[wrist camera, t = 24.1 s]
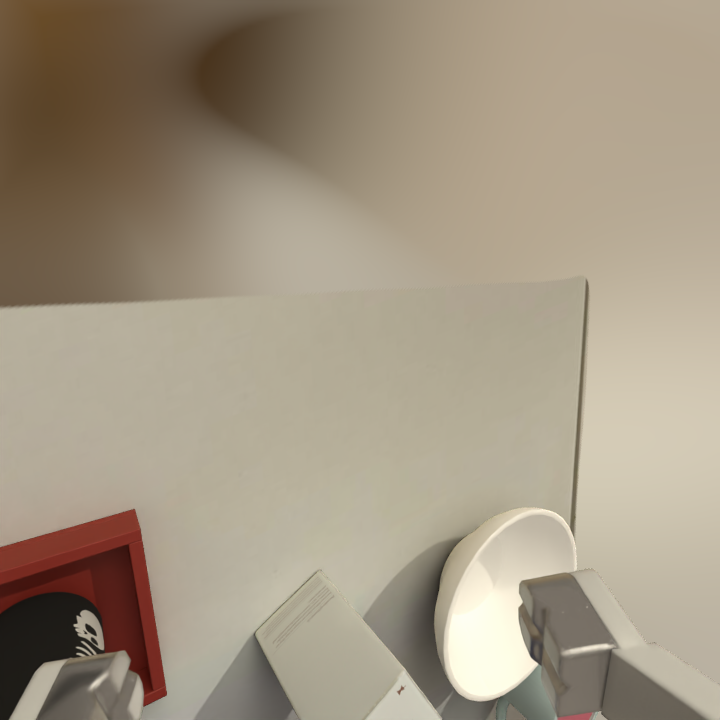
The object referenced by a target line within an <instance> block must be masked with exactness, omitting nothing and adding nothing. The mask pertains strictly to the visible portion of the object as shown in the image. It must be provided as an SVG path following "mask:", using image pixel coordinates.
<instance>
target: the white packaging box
mask: <svg viewBox="0 0 720 720" xmlns="http://www.w3.org/2000/svg"><path fill="white" fill-rule="evenodd" d="M255 636H256V638H257V640H258V642H259V644H260V646H261V648H262V650H263V652H264V654H265V656H266V658H267V660H268V662H269V663H270V665H271V667H272V669H273V671H274V673H275V675H276V677H277V679H278V681H279V683H280V684H281V686H282V688H283V690H284V692H285V694H286V696H287V698H288V699H289V701H290V703H291V705H292V707H293V709H294V711H295V713H296V715H297V716H298V718H299V720H443V719H442V718H441V716H440V715H439V714H438V712H437V711H436V710H435V708H434V707H433V706H432V704H431V703H430V702H429V700H428V699H427V698H426V696H425V695H424V693H423V692H422V691H421V690H420V688H419V687H418V686H417V684H416V683H415V682H414V680H413V679H412V678H411V676H410V675H409V674H408V672H407V671H406V669H405V668H404V667H403V666H402V665H401V663H400V662H399V661H398V660H397V659H396V658H395V656H394V655H393V654H392V653H391V652H390V651H389V649H388V648H387V647H386V646H385V645H384V643H383V642H382V641H381V640H380V639H379V638H378V637H377V635H376V634H375V633H374V632H373V631H372V630H371V628H370V627H369V626H368V625H367V624H366V622H365V621H364V620H363V619H362V618H361V617H360V615H359V614H358V613H357V612H356V611H355V610H354V608H353V607H352V606H351V605H350V604H349V603H348V601H347V600H346V599H345V598H344V597H343V595H342V594H341V593H340V592H339V591H338V590H337V588H336V587H335V586H334V585H333V584H332V583H331V581H330V580H329V579H328V578H327V577H326V576H325V574H324V573H323V572H322V571H321V570H319V571H318V572H317V573H316V574H315V575H314V576H313V577H312V578H310V579H309V580H308V581H307V582H306V583H305V584H304V585H303V586H302V587H301V588H300V589H299V590H298V591H297V592H296V593H295V594H294V595H293V596H292V597H291V598H290V599H289V600H288V601H286V602H285V603H284V604H283V605H282V606H281V607H280V608H279V609H278V610H277V611H276V612H275V613H274V614H273V615H272V616H271V617H270V618H269V619H268V620H267V621H266V622H265V623H264V624H263V625H262V626H261V627H260V628H259V629H258V630H257V631H256V633H255Z"/></svg>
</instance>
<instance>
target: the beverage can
mask: <svg viewBox="0 0 720 720" xmlns="http://www.w3.org/2000/svg"><path fill="white" fill-rule="evenodd" d="M103 653H105V646H104V635H103V624H102V618H101V615H100V613H99V611H98V609H97V608H96V607H95V605H94V604H93V603H92V602H90V601H89V600H88V599H86V598H84V597H82V596H80V595H77V594H73V593H68V592H49V593H43V594H39V595H35V596H32V597H29V598H26V599H24V600H22V601H20V602H18V603H16V604H14V605H12V606H11V607H9V608H8V609H6V610H5V611H3V612H2V613H1V614H0V720H9V719H10V717H11V715H12V713H13V711H14V709H15V708H16V706H17V704H18V702H19V700H20V698H21V697H22V695H23V693H24V691H25V689H26V687H27V686H28V684H29V682H30V680H31V678H32V676H33V674H34V673H35V671H36V670H37V669H38V668H39V667H40V666H41V665H42V664H43V663H46V662H52V661H58V660H63V659H69V658H77V657H84V656H90V655H97V654H103Z"/></svg>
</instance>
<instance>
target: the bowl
mask: <svg viewBox="0 0 720 720" xmlns="http://www.w3.org/2000/svg"><path fill="white" fill-rule="evenodd" d="M576 568H577V557H576V547H575V542H574V537H573V535H572V532H571V530H570V528H569V526H568V525H567V523H566V522H565V521H564V519H563V518H562V517H560V516H559V515H558V514H556V513H555V512H552V511H549V510H545V509H541V508H516V509H513V510H510V511H507V512H504V513H501V514H498V515H496V516H494V517H492V518H491V519H489V520H487V521H486V522H484V523H483V524H482V525H481V526H479V527H478V528H477V529H476V530H475V531H474V532H472V533H471V534H469V535H467V536H466V537H465V538H463V539H462V540H461V541H460V542H459V543H458V544H457V545H456V547H455V548H454V549H453V551H452V552H451V554H450V555H449V557H448V559H447V561H446V563H445V565H444V568H443V571H442V574H441V579H440V587H439V593H438V598H437V603H436V607H435V619H434V629H435V637H436V645H437V653H438V656H439V659H440V661H441V664H442V667H443V669H444V672H445V674H446V677H447V678H448V680H449V681H450V683H451V684H452V686H453V687H454V688H455V690H456V691H457V693H459V694H460V695H462V696H463V697H465V698H466V699H468V700H473V701H478V702H480V701H488V700H493V699H495V698H498V697H500V696H503V695H505V694H506V693H508V692H509V691H511V690H512V689H514V688H515V687H517V686H518V685H519V684H520V683H521V682H522V681H523V680H525V679H526V678H527V677H528V676H529V675H530V674H531V673H532V671H533V670H534V669H535V668H536V667H537V666H538V665H539V664H538V663H537V662H535V661H534V660H533V659H532V658H531V657H530V655H529V653H528V650H527V648H526V646H525V643H524V640H523V637H522V634H521V630H520V625H519V620H518V608H519V606H520V605H521V604H522V603H523V601H522V599H521V597H520V595H519V584H520V582H521V581H522V580H527V579H533V578H538V577H543V576H548V575H554V574H559V573H564V572H566V573H569V572H574V571H576Z"/></svg>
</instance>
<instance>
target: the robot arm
mask: <svg viewBox="0 0 720 720" xmlns="http://www.w3.org/2000/svg"><path fill="white" fill-rule="evenodd" d="M519 595H520V597H521V599H522V601H523V603H522V604H521V605H520V606H519V608H518V620H519V625H520V630H521V634H522V637H523V640H524V643H525V646H526V648H527V650H528V653H529V655H530V657H531V658H532V659H533V660H534V661H535V662H537V663H538V664H539V665H540V666H542V668H541V682H542V685H543V687H544V689H545V691H546V694H547V696H548V698H549V700H550V703H551V705H552V707H553V709H554V711H555V714H556V716H557V718H559V717H565V716H572V715H578V714H585V713H592V712H598V711H602V712H601V714H602V715H603V716H604V717H605V718H606V719H608V720H720V684H719V683H717V682H715V681H714V680H712V679H711V678H709V677H708V676H706V675H705V674H703V673H702V672H700V671H698V670H697V669H695V668H694V667H692V666H691V665H689V664H688V663H686V662H685V661H683V660H681V659H680V658H678V657H677V656H675V655H674V654H672V653H671V652H669V651H668V650H666V649H664V648H663V647H661V646H660V645H658V644H656V643H655V642H654V643H646V641H645V639H644V638H643V637H642V635H641V634H640V632H639V631H638V629H637V628H636V626H635V625H634V624H633V622H632V621H631V620H630V618H629V616H628V615H627V614H626V612H625V611H624V609H623V608H622V607H621V605H620V604H619V602H618V601H617V599H616V598H615V596H614V595H613V594H612V592H611V591H610V589H609V588H608V587H607V585H606V584H605V582H604V581H603V579H602V578H601V577H600V575H599V574H598V572H596V571H595V570H594V569H584V570H579V571H574V572H569V573H566V572H564V573H559V574H554V575H548V576H543V577H538V578H533V579H527V580H522V581H521V582H520V584H519ZM130 662H131V659H130V658H129V656H128V654H127V653H126V651H125V650H123V651H116V652H110V653H103V654H97V655H90V656H84V657H77V658H69V659H63V660H58V661H52V662H46V663H43V664H42V665H41V666H40V667H39V668H38V669H37V670H36V671H35V673H34V674H33V676H32V678H31V680H30V682H29V684H28V686H27V687H26V689H25V691H24V693H23V695H22V697H21V698H20V700H19V702H18V704H17V706H16V708H15V709H14V711H13V713H12V715H11V717H10V719H9V720H140V718H141V715H142V711H143V700H144V690H143V684H142V681H141V679H140V677H139V675H138V674H137V673H135V672H133V671H131V670H129V669H128V668H129V665H130Z"/></svg>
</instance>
